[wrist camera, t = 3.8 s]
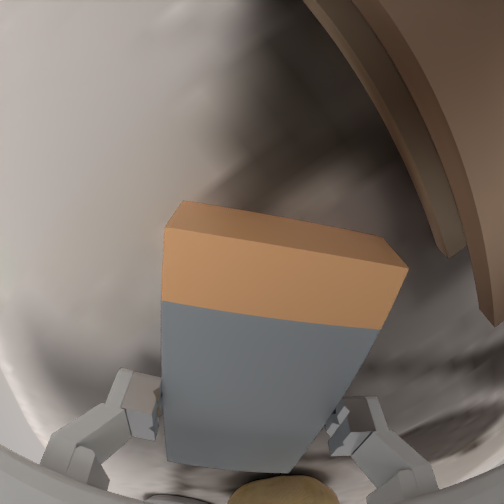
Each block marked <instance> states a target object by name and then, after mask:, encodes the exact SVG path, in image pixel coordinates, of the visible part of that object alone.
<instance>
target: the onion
mask: <svg viewBox="0 0 504 504" xmlns="http://www.w3.org/2000/svg"><path fill="white" fill-rule="evenodd" d="M227 504H339V500H338V498H337V496H336V494H335V493H334V492H333V490H332V489H330V488H329V487H328V486H326V485H325V484H323V483H322V482H320V481H319V480H317V479H315V478H313V477H309V476H305V475H297V476H276V477H272V478H268V479H262V480H256V481H252V482H250V483H247V484H244V485H242V486H241V487H240V488H238V489H237V490H236V491H235V492H234V494H233V495H232V496H231V497H230V499H229V501H228V503H227Z"/></svg>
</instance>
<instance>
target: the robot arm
mask: <svg viewBox="0 0 504 504" xmlns="http://www.w3.org/2000/svg"><path fill="white" fill-rule="evenodd" d="M162 409H163V397H162V378H161V377H157V376H152V375H148V374H144V373H140V372H136V371H132V370H128V369H124V368H120V369H119V371H118V373H117V375H116V377H115V380H114V382H113V385H112V387H111V390H110V392H109V395H108V397H107V400H106V402H105V404H104V403H100V404H98V405H97V406H95V407H94V408H92V409H91V410H89V411H87V412H86V413H84V414H83V415H81V416H80V417H78V418H77V419H75V420H73V421H72V422H70V423H69V424H67V425H65V426H64V427H62V428H61V429H59V430H58V431H56V432H54V433H53V434H52V436H51V438H50V440H49V442H48V445H47V447H46V450H45V452H44V454H43V457H42V459H41V462H40V464H37V463H35V462H33V461H31V460H29V459H27V458H25V457H23V456H21V455H19V454H17V453H15V452H14V451H12V450H10V449H8V448H6V447H5V446H3V445H1V444H0V504H155V503H150V502H146V501H142V500H138V499H134V498H130V497H126V496H122V495H119V494H116V493H112V492H109V491H107V489H108V485H109V481H110V480H109V478H108V476H107V475H106V473H105V471H104V469H103V468H102V466H101V464H102V463H103V462H104V461H105V460H107V459H108V458H109V457H110V456H111V455H112V454H113V453H115V452H116V451H117V450H118V449H119V448H120V447H121V446H123V445H124V444H125V443H126V442H127V441H128V440H129V439H130V438H132V437H131V436H133V437H138V438H142V439H147V440H152V441H155V440H156V435H157V431H158V427H159V424H158V418H159V417H160V416H161V414H162ZM325 428H326V432H327V433H328V434H329V435H330V436H331V438H330V439H329V441H328V445H329V450H330V456H350V455H352V456H351V457H352V459H353V460H354V461H355V462H356V464H357V465H358V466H359V467H360V468H361V470H362V471H363V472H364V473H365V474H366V476H367V477H368V478H369V479H370V480H371V482H372V483H373V484H374V485H375V486H376V488H377V489H376V490H374V491H373V492H372V493H370V494H369V495H368V496H367V497H366V499H367V504H504V464H502V465H500V466H498V467H496V468H494V469H491V470H489V471H487V472H485V473H482V474H480V475H478V476H475V477H473V478H470V479H468V480H465V481H463V482H460V483H458V484H455V485H452V486H449V487H446V488H443V489H440V490H439V488H438V485H437V482H436V479H435V476H434V473H433V470H432V467H431V464H430V463H429V462H428V461H427V460H426V459H424V458H423V457H422V456H421V455H420V454H419V453H417V452H416V451H415V450H414V449H413V448H412V447H411V446H409V445H408V444H407V443H406V442H405V441H404V440H403V439H402V438H400V437H399V436H398V435H397V434H396V433H395V432H394V431H393V430H389V429H388V426H387V423H386V420H385V417H384V414H383V412H382V409H381V406H380V403H379V400H378V398H377V397H376V396H369V397H363V396H353V397H342V398H341V400H340V401H339V403H338V404H337V406H336V407H335V410H334V411H333V413H332V414H331V415H330V417H329V418H328V420H327V421H326V423H325Z"/></svg>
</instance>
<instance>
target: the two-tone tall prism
mask: <svg viewBox="0 0 504 504" xmlns="http://www.w3.org/2000/svg"><path fill="white" fill-rule="evenodd" d="M408 270H409V268H408V267H407V265H406V264H405V263H404V262H403V261H402V259H401V258H400V257H399V256H398V255H397V253H396V252H395V251H394V250H393V249H392V248H391V247H390V245H389V244H388V243H387V242H386V241H385V240H384V239H383V237H380V236H375V235H370V234H366V233H361V232H356V231H351V230H346V229H341V228H336V227H331V226H326V225H321V224H316V223H311V222H306V221H300V220H295V219H289V218H284V217H279V216H273V215H267V214H262V213H256V212H250V211H244V210H238V209H232V208H226V207H220V206H214V205H208V204H201V203H195V202H188V201H182V203H181V204H180V206H179V207H178V209H177V210H176V211H175V213H174V214H173V216H172V217H171V219H170V220H169V222H168V223H167V225H166V226H165V232H164V247H163V267H162V294H161V372H162V397H163V417H164V431H165V444H166V455H167V461H170V462H175V463H180V464H186V465H193V466H199V467H206V468H214V469H223V470H233V471H245V472H262V473H289V472H290V471H291V470H292V468H293V467H294V466H295V464H296V463H297V462H298V461H299V459H300V458H301V457H302V455H303V454H304V453H305V451H306V450H307V449H308V447H309V446H310V444H311V443H312V442H313V440H314V439H315V438H316V436H317V435H318V433H319V432H320V430H321V429H322V428H323V426H324V425H325V423H326V421H327V420H328V418H329V417H330V415H331V414H332V413H333V411H334V410H335V407H336V406H337V404H338V403H339V401H340V400H341V398H342V397H343V395H344V394H345V392H346V391H347V389H348V387H349V386H350V384H351V382H352V381H353V379H354V377H355V376H356V374H357V372H358V371H359V369H360V367H361V365H362V364H363V362H364V360H365V358H366V356H367V355H368V353H369V351H370V349H371V347H372V345H373V344H374V342H375V340H376V338H377V336H378V334H379V332H380V330H381V328H382V326H383V324H384V322H385V320H386V318H387V316H388V314H389V312H390V310H391V308H392V306H393V304H394V302H395V299H396V297H397V295H398V293H399V291H400V288H401V286H402V284H403V282H404V279H405V277H406V275H407V272H408Z"/></svg>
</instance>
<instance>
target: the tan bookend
mask: <svg viewBox="0 0 504 504" xmlns="http://www.w3.org/2000/svg"><path fill="white" fill-rule="evenodd" d="M302 1H303V2H304V3H305V4H306V5H307V7H308V8H309V9H310V10H311V12H312V13H313V14H314V15H315V17H316V18H317V19H318V21H319V22H320V23H321V24H322V26H323V27H324V28H325V30H326V31H327V33H328V34H329V35H330V37H331V38H332V39H333V41H334V42H335V44H336V45H337V46H338V48H339V49H340V51H341V52H342V54H343V55H344V57H345V58H346V60H347V61H348V63H349V64H350V66H351V67H352V69H353V70H354V72H355V73H356V75H357V77H358V78H359V80H360V81H361V83H362V85H363V86H364V88H365V90H366V91H367V93H368V95H369V96H370V98H371V100H372V102H373V103H374V105H375V107H376V109H377V110H378V112H379V114H380V116H381V118H382V120H383V121H384V123H385V125H386V127H387V129H388V131H389V133H390V135H391V137H392V139H393V141H394V143H395V145H396V147H397V149H398V151H399V153H400V155H401V157H402V159H403V162H404V164H405V166H406V168H407V170H408V173H409V175H410V177H411V179H412V182H413V184H414V186H415V189H416V191H417V194H418V196H419V199H420V201H421V204H422V206H423V209H424V211H425V214H426V217H427V219H428V222H429V225H430V228H431V230H432V233H433V236H434V239H435V242H436V245H437V248H438V249H439V250H440V251H441V252H442V253H444V254H445V255H446V256H447V257H448V258H451V257H452V256H454V255H455V254H456V253H458V252H459V251H461V250H462V249H463V248H465V247H466V246H468V250H469V254H470V259H471V263H472V268H473V273H474V278H475V284H476V290H477V296H478V302H479V309H480V310H481V312H482V313H483V314H484V315H485V316H486V317H487V319H488V320H489V321H490V322H491V324H492V325H493V326H494V327H496V326H498V325H499V324H500V323H501V322H503V321H504V0H351V1H352V2H353V3H352V2H351V1H350V0H302ZM353 4H354V5H355V6H356V7H355V6H354V5H353ZM356 8H357V9H358V10H359V11H358V10H357V9H356ZM359 12H360V13H361V14H362V15H361V14H360V13H359ZM362 16H363V17H364V18H365V20H366V21H367V22H366V21H365V20H364V18H363V17H362ZM367 23H368V24H369V25H368V24H367ZM369 26H370V27H371V28H372V30H373V31H374V33H375V34H376V36H377V37H378V39H379V40H380V42H381V43H382V45H383V46H382V45H381V43H380V42H379V40H378V39H377V37H376V36H375V34H374V33H373V31H372V30H371V28H370V27H369ZM383 47H384V48H385V49H384V48H383ZM385 50H386V51H387V53H388V54H387V53H386V51H385ZM388 55H389V56H390V58H391V59H390V58H389V56H388ZM391 60H392V61H393V63H394V64H393V63H392V61H391ZM394 65H395V66H396V68H397V69H396V68H395V66H394ZM397 70H398V71H399V73H400V75H401V76H400V75H399V73H398V71H397ZM401 77H402V78H401ZM402 79H403V80H404V82H405V84H406V85H405V84H404V82H403V80H402ZM406 86H407V87H406ZM407 88H408V89H407ZM408 90H409V91H410V93H411V95H412V97H413V99H414V101H415V103H416V105H417V107H418V109H419V111H420V113H421V115H422V117H421V115H420V113H419V111H418V109H417V107H416V105H415V103H414V101H413V99H412V97H411V95H410V93H409V91H408ZM422 118H423V119H422ZM423 120H424V121H423ZM424 122H425V123H424ZM425 124H426V126H427V128H428V130H427V128H426V126H425ZM428 131H429V132H428ZM429 133H430V135H431V137H430V135H429ZM431 138H432V139H431ZM432 140H433V142H434V144H433V142H432ZM434 145H435V146H434ZM435 147H436V149H435ZM436 150H437V151H436ZM437 152H438V154H439V156H438V154H437ZM439 157H440V159H439ZM440 160H441V161H440ZM441 162H442V164H441ZM442 165H443V167H444V169H443V167H442ZM444 170H445V172H444ZM445 173H446V175H445ZM446 176H447V177H446ZM447 178H448V180H447ZM448 181H449V183H448ZM449 184H450V186H449ZM450 187H451V189H450ZM451 190H452V192H451ZM452 193H453V195H452ZM453 196H454V198H453ZM454 199H455V201H454ZM455 202H456V204H455ZM456 206H457V208H456ZM457 209H458V211H457ZM458 212H459V214H458ZM459 216H460V218H459ZM460 219H461V221H460ZM461 223H462V225H461ZM462 226H463V228H462ZM463 230H464V232H463ZM464 234H465V236H464ZM465 238H466V240H465ZM466 242H467V244H466Z"/></svg>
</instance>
